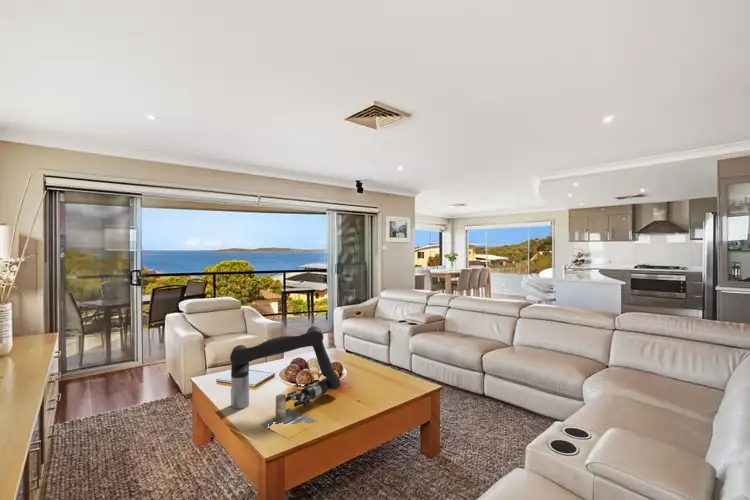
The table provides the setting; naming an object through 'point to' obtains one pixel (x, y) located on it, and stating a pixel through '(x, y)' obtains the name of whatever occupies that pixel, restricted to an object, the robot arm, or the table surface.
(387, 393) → the table surface
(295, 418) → the mat
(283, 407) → the birch cylinder
